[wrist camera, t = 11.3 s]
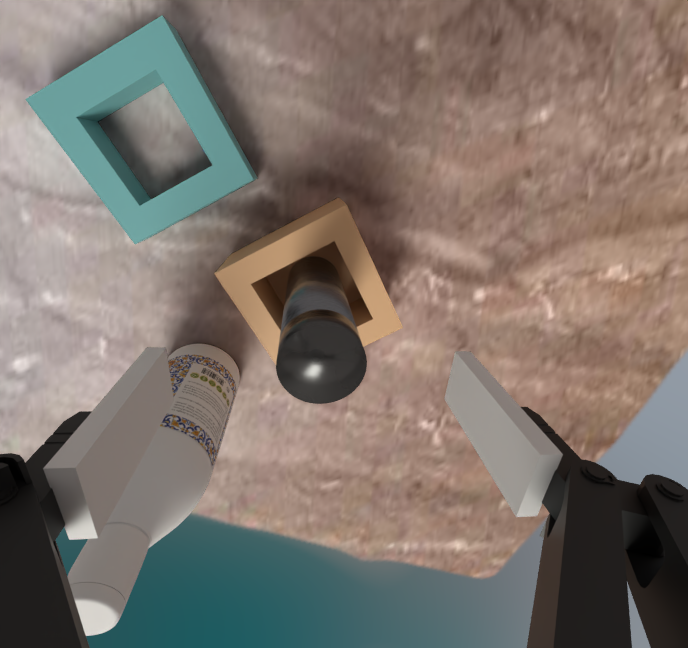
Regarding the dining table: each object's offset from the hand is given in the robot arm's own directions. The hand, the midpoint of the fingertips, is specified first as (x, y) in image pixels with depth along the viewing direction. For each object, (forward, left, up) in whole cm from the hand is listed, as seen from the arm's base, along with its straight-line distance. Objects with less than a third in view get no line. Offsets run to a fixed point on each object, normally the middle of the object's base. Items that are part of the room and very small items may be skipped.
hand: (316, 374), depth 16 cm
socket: (0, 0, -16) cm, 16 cm away
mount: (-14, -5, -16) cm, 22 cm away
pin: (0, 0, -15) cm, 15 cm away
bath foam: (+4, -14, -16) cm, 21 cm away
